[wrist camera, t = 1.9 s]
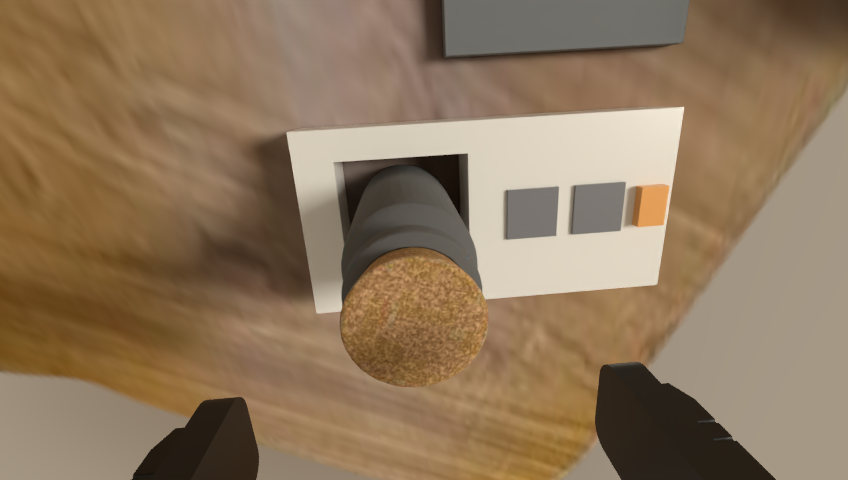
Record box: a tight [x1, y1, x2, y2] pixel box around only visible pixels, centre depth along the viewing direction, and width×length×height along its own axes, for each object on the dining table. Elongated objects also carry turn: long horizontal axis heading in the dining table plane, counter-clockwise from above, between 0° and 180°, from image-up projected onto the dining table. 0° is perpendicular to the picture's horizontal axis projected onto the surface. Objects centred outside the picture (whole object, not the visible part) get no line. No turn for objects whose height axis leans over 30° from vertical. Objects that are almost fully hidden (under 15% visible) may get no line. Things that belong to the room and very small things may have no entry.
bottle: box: [340, 165, 488, 387], centre depth 19 cm, size 6×6×15 cm
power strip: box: [286, 106, 684, 313], centre depth 25 cm, size 22×11×4 cm, turn 93°
